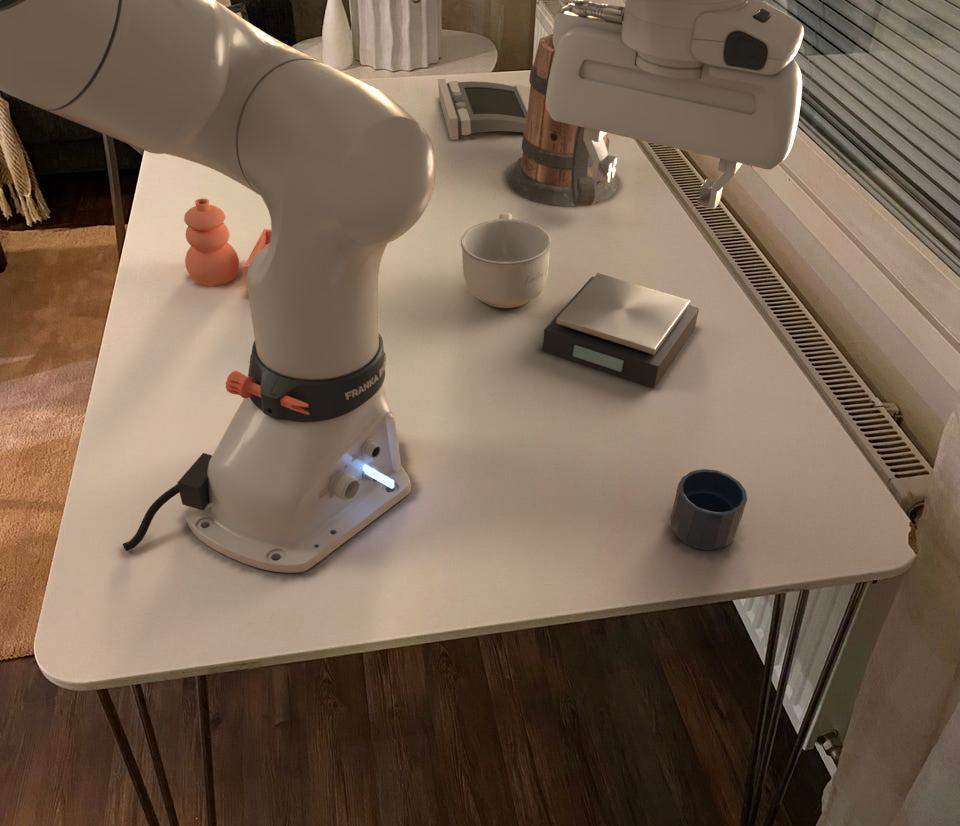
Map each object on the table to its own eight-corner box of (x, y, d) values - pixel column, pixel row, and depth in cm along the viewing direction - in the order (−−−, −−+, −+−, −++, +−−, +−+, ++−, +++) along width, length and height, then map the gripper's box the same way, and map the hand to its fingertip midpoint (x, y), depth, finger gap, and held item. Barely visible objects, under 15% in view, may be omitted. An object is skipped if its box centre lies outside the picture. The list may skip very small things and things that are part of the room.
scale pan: (653, 355, 107) (655, 349, 107) (555, 324, 111) (556, 318, 110) (689, 305, 115) (690, 300, 114) (596, 278, 119) (597, 272, 118)
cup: (723, 562, 89) (735, 524, 86) (660, 538, 91) (669, 499, 88) (743, 521, 93) (755, 483, 90) (682, 499, 95) (691, 461, 92)
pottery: (336, 264, 126) (331, 192, 119) (320, 302, 119) (314, 229, 112) (200, 253, 127) (187, 181, 120) (177, 290, 120) (162, 217, 113)
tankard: (498, 158, 152) (505, 22, 138) (602, 155, 154) (619, 22, 140) (524, 229, 135) (536, 83, 121) (641, 225, 137) (665, 81, 123)
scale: (653, 389, 108) (657, 367, 106) (540, 352, 113) (542, 330, 111) (694, 329, 118) (699, 308, 116) (589, 297, 122) (592, 276, 120)
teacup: (538, 324, 117) (543, 265, 112) (451, 311, 118) (452, 253, 113) (554, 268, 127) (560, 211, 122) (474, 257, 129) (476, 200, 123)
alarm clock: (437, 79, 166) (531, 70, 167) (439, 106, 169) (531, 97, 171) (449, 119, 154) (550, 109, 155) (451, 147, 157) (550, 137, 158)
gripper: (539, 5, 74) (528, 177, 83) (805, 56, 67) (760, 236, 77) (572, -16, 78) (557, 151, 87) (825, 30, 71) (780, 204, 81)
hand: (654, 191), depth 82 cm, fingers open, 8 cm apart
